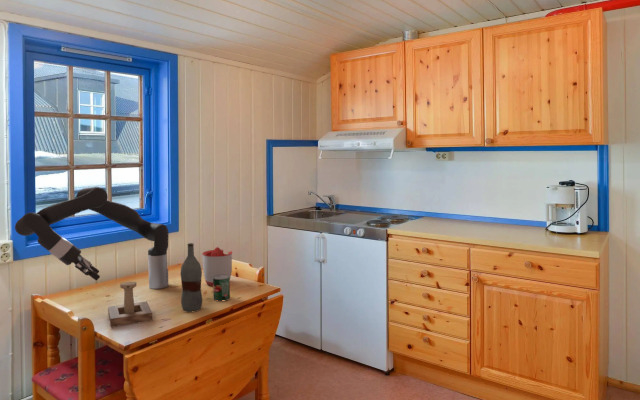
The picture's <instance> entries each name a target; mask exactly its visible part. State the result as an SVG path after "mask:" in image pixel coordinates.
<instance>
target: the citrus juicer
mask: <svg viewBox="0 0 640 400" xmlns="http://www.w3.org/2000/svg"><path fill="white" fill-rule="evenodd" d="M201 255H202V274H203V276H204V280H205V282H206V283H205V284H206V285H208V286H211V287H213V276H215V275H222V274H223V275H229V276H230V278H231V276H232V272H233V268H232V267H233V257H232V256H233V251H229V252H228V254H227V253H224V249H221V248H220V247H218V246H217V247H215V248H214V249H212V250H205V251H203V252H202V254H201Z"/></svg>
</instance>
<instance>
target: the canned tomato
mask: <svg viewBox="0 0 640 400" xmlns="http://www.w3.org/2000/svg"><path fill="white" fill-rule="evenodd" d="M230 282H231V277H230V276H229V275H223V274H222V275H215V276H213V286H212V288H213V289H212V291H213V299H212V300H213V301H215V300H218V301H217V302H223V301H222V300H227V299H229V298H230V299H231V291H230V289H231V288H230V285H231V284H230ZM230 299H229V300H230ZM227 301H228V300H227Z"/></svg>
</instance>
